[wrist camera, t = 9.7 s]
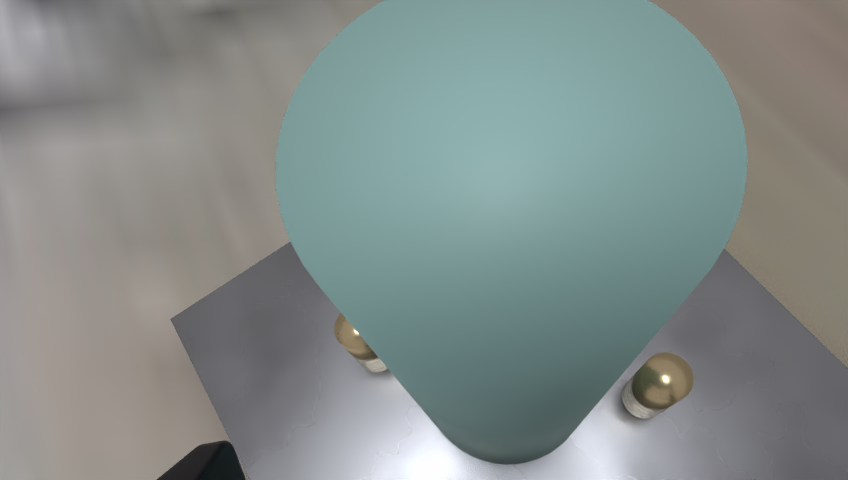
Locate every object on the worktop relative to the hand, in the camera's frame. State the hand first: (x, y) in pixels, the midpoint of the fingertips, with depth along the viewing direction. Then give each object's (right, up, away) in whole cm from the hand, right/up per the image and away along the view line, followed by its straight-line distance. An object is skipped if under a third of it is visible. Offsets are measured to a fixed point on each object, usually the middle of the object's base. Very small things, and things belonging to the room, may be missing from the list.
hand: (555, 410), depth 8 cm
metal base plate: (+1, -2, +11) cm, 11 cm away
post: (+1, -2, +10) cm, 10 cm away
